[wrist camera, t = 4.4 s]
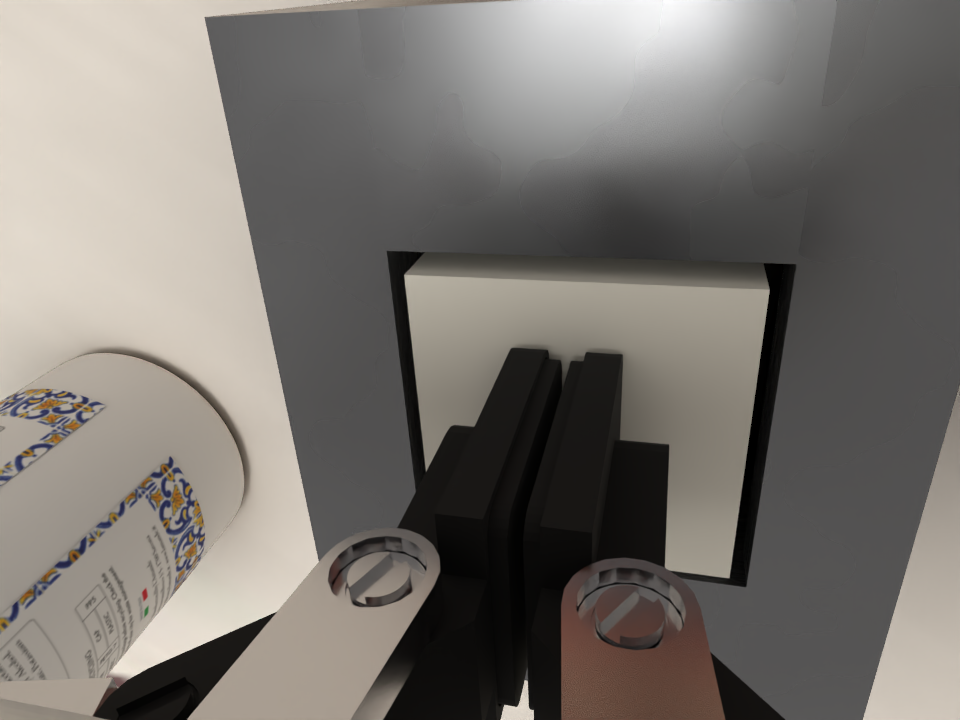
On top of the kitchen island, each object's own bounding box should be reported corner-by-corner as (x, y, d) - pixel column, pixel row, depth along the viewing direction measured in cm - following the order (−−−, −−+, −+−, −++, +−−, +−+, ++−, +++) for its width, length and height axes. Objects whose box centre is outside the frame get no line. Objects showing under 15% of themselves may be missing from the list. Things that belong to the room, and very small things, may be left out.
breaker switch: (745, 188, 14) (770, 289, 9) (719, 414, 16) (729, 578, 12) (486, 186, 15) (403, 275, 11) (496, 396, 17) (433, 539, 13)
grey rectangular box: (918, -33, 12) (1108, -30, 7) (809, 518, 18) (864, 770, 12) (372, -1, 15) (178, 20, 9) (425, 475, 20) (324, 670, 15)
